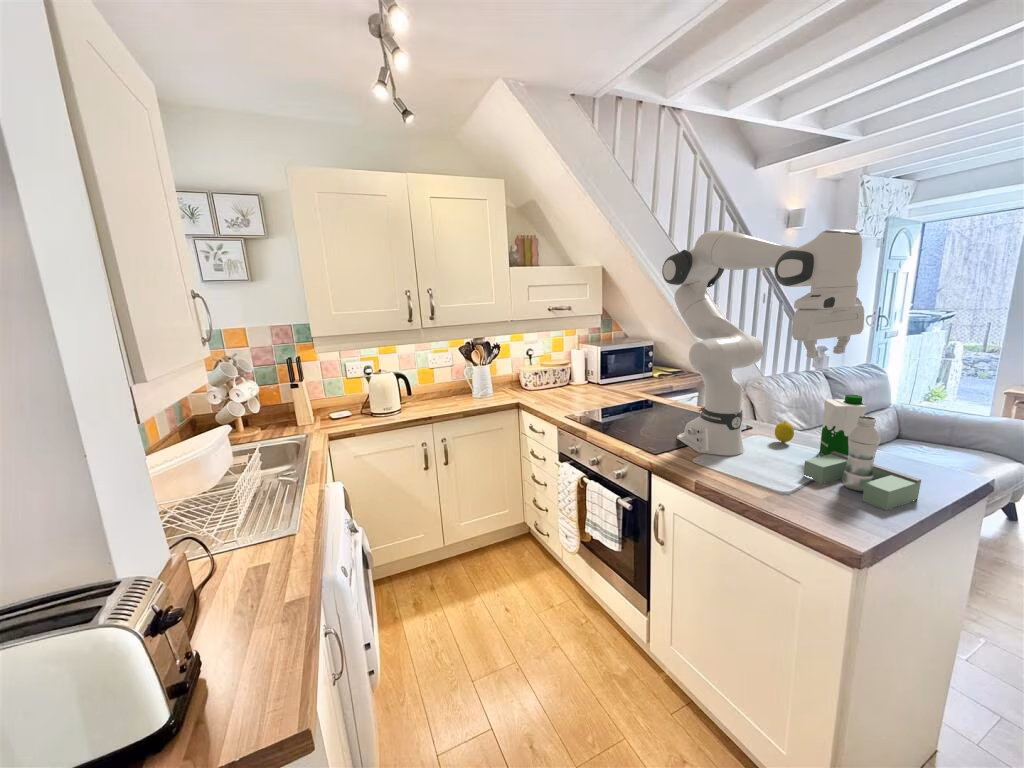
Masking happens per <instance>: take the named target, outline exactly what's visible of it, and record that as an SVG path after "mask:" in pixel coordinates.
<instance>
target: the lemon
mask: <svg viewBox="0 0 1024 768" xmlns="http://www.w3.org/2000/svg"><path fill="white" fill-rule="evenodd" d="M794 434H795V429H794V427H793V425H792V424H791V423H789V422H787V421H785V420H784V421H781V422H779V423H777V424H776V426H775V428H774V437H775V438H776V439H777V440H778V441H779V442H781V443H782V444H785V443H788V442H791V440H792V439H793V438H794Z"/></svg>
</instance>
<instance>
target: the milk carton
mask: <svg viewBox="0 0 1024 768" xmlns="http://www.w3.org/2000/svg"><path fill="white" fill-rule="evenodd" d="M844 397H845V398H844V399H839V398H834V399H824V401H823V403H824V408H823V419H822V425H821V434H820V435H821V437H820V443H819V445H820V446H819V452H820V454H822V453H823V454H824V455H829V454H831V452H833V451H835V452H839V453H842V454H845V455H848V450H849V446H848V434H849V432H850V431H851V430H852V429H853V428H855V427H856V426H857V425H858V424H856V422H857V419H858V416H865V414H866V412H867V408H868V406H867V405H865V404H863V396H861V395H857V394H845V396H844ZM823 454H822V455H823ZM824 455H823V456H824Z"/></svg>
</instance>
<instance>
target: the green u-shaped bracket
mask: <svg viewBox="0 0 1024 768" xmlns="http://www.w3.org/2000/svg"><path fill="white" fill-rule="evenodd" d="M847 460H848V455H845V454H842V453H839V452H835V451H833V452H831V454H829V455H825V456H824V455H822V456H821V455H820V456H818V457H814V458H809V459H806V460H805V459H804V466H803V467H804V468H803V475H806V476H809V477H812V478H813V479H814V482H816V483H819V484H820V485H821V484H825V483H830V482H832V481H833V482H834V481H835V480H836V481H837V480H841V479H842V475H843V472H844V470H845V467H846V464H847ZM873 476H874V480H873V481H870V482H866V483H865V487H864V491H863V494H862V502H865V503H867V504H869V505H872V506H874V507H877V508H879V509H882V510H885V511H888V509H889V510H892V509H894V507H895V508H897V506H898V507H900V505H901V506H903V505H902V504H904V505H906V504H905V503H907V504H909V503H908V502H910V503H912V502H911V501H913V500H916V499H918V500H919V494H920V489H921V488H920V487H921V483H922V479H921V478H919V477H915V476H911V475H908V474H906V473H902V472H900V471H897V470H894V469H891V468H887V467H884V466H881V465H878V464H875V463H874V465H873ZM916 501H917V500H916ZM913 502H914V501H913ZM891 508H892V509H891Z"/></svg>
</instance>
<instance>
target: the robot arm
mask: <svg viewBox="0 0 1024 768" xmlns="http://www.w3.org/2000/svg"><path fill="white" fill-rule="evenodd" d="M694 244H695V245H694V247H693V248H692V249H690V250H686V249H683V250H680V251H679V252H677V253H675V254H672V255H670V256H667V258H666V259H665V261H664V263H663V264H662V278H663V279H664V281H665V282H666V283H667V284H669V285H674V286H679V285H680V286H679V287H678V288H677V289H676V290H675V293H674V301H675V305H676V308H677V309H678V312H679V313H680V315H681V317H682V319H683V322H685V324H686V326H687V328H688V329H689V330H690V332H691V334H692V335H693V336H695V337H696V338H698V339H700V341H698V342H696V343H694V344H693V345H692V346H691V347H690V349H689V352H688V359H689V363H690V365H691V367H692V368H693V369H694V370H696V371H697V372H698V374H699V375H700V376H701V378H702V381H703V385H704V406H703V407H699V408H697V409H698V412H700V414H699V416H697V417H696V418H694V419H692V420H690V421H689V422H687V423H686V425H685V428H684V432H682V433H679V434H678V435H677V436H676V438H677V440H679V441H680V442H682V443H683V444H685V445H687V446H688V447H689V448H691V449H693V450H694V451H696V452H697V453H700V454H710V455H717V456H737V455H741V454H742V453H744V451H745V449H744V445H743V444H744V443H743V436H742V421H743V409H742V405H743V404H742V403H743V402H742V401H743V387H742V386H741V385H740V384H739V382H736V381H734V377H733V373H732V370H735V369H743V368H747V367H750V366H752V365H754V364H756V363H759V361H761V359H762V357H764V349H765V348H764V345H763V343H762V341H761V340H760V339H759V338H758V337H756V336H753V335H751V334H748V333H746V332H744V331H743V330H741V329H740V328H739V327H737V326H736V325H735V324H734V323H732V322H731V321H730V320H728V319H727V318H726V316H725V315H724V314H723V312H721V310H720V309H719V308H718V306H717V305H716V303H715V302H714V300H713V299H712V297H711V296H710V295H709V293H708V290H707V288H711V287H712V286H714V285H716V281H718V280H719V279H720V278H721V277H722V275H723V273H724V272H725V270H731V271H732V270H733V271H735V270H736V271H740V270H751V269H754V270H755V269H761V268H763V269H764V268H771V269H772V268H774V276H775V277H774V278H775V280H776V281H777V282H778V283H779V284H780V285H781V286H783V287H789V288H797V287H810V292H808V293H806V294H805V295H804V296H801V297H800V298H798V299H795V301H794V302H793V303H794V304H793V307H794V309H796V310H795V312H794V314H793V316H792V317H793V319H792V324H791V326H792V327H791V335H792V338H793V340H795V341H801V342H803V345H804V347H805V350H806V354H805V355H806V357H807V358H810V359H815V358H818V357H819V350H818V349H817V347H816V345H817V344H818V340H824V339H833V338H837V340H838V341H837V342H836V345H835V346H833V351H832V352H833V353H834V354H837V355H841V354H844V353H845V352H846V347H847V345H848V343H849V342H850V340H851V336H853V335H854V336H855V335H860V334H862V332H863V330H864V328H865V327H864V326H865V309H864V306H863V304H862V303H863V302H862V301H861V300H860V298H859V297H857V296H858V295H857V294H858V288H859V287H858V285H859V282H858V273H859V270H860V269H861V265H862V257H863V238H862V235H861V233H860V232H858V230H854V229H827V230H823V231H821V232H819V234H817V235H816V237H815V238H813V239H812V240H810V241H808V242H807V243H805V244H803V245H801V246H798V247H795V246H790V245H789V246H788V245H785V244H779V243H774V242H771V241H768V240H764V239H761V238H758V237H754V236H752V235H748V234H744V233H741V232H737V231H730V230H721V229H720V230H709V231H706V232H703V233H702V234H701V235H699V237H698V238H697V240H696V241H695V243H694Z"/></svg>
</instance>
